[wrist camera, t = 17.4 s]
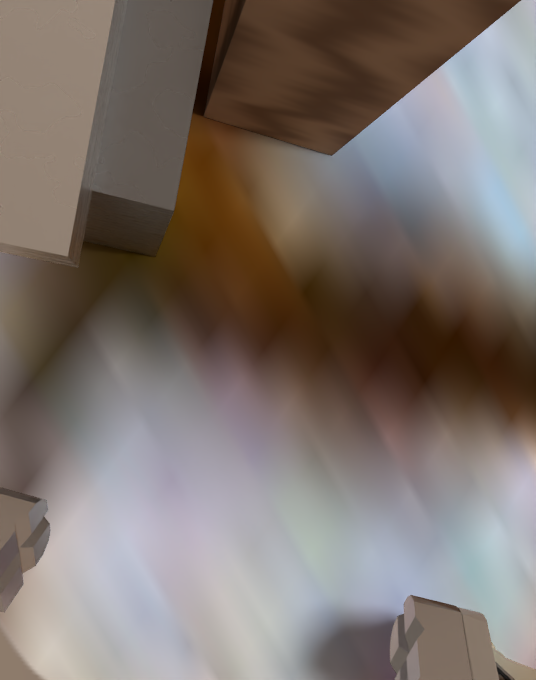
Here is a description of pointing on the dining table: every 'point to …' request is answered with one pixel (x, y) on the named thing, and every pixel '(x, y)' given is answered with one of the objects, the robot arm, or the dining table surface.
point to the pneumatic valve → (512, 668)
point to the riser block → (147, 123)
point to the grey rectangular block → (53, 119)
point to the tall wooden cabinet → (332, 61)
